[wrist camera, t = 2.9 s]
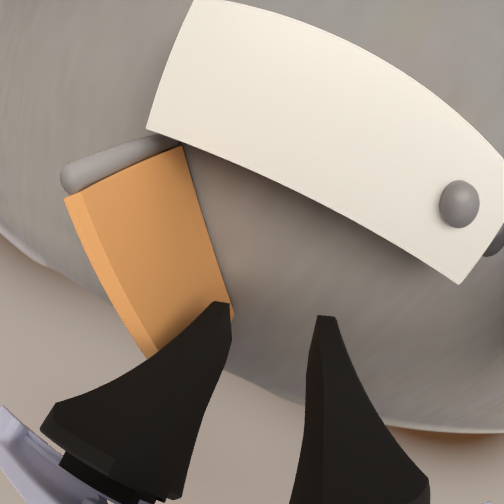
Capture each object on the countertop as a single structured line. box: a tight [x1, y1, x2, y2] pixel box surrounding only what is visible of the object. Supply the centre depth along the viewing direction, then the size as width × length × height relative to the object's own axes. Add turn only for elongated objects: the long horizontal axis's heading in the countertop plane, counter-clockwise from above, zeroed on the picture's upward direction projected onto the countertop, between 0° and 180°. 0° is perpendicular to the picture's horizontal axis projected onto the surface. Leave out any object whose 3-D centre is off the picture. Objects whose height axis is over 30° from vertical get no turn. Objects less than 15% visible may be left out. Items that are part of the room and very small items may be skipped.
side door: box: [60, 133, 235, 359], centre depth 10 cm, size 10×1×6 cm, turn 13°
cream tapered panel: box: [146, 0, 504, 285], centre depth 8 cm, size 14×5×3 cm, turn 68°
